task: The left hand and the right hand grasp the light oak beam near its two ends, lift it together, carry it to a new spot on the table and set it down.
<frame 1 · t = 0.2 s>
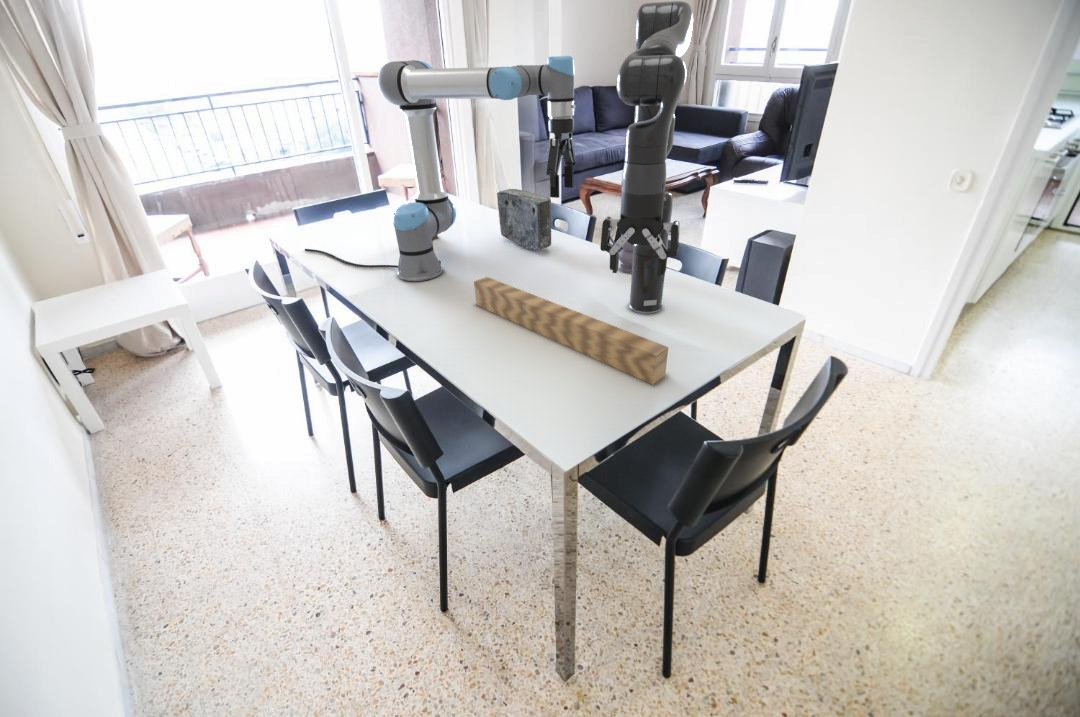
left hand: (562, 192, 156), 28 cm above the table, tool pointing down, fingers open, 13 cm apart
right hand: (636, 273, 96), 28 cm above the table, tool pointing down, fingers open, 8 cm apart
concrete block: (527, 246, 197), on the table
seal figurine: (424, 240, 209), on the table
cat figurine: (630, 269, 173), on the table
beam: (557, 335, 134), on the table
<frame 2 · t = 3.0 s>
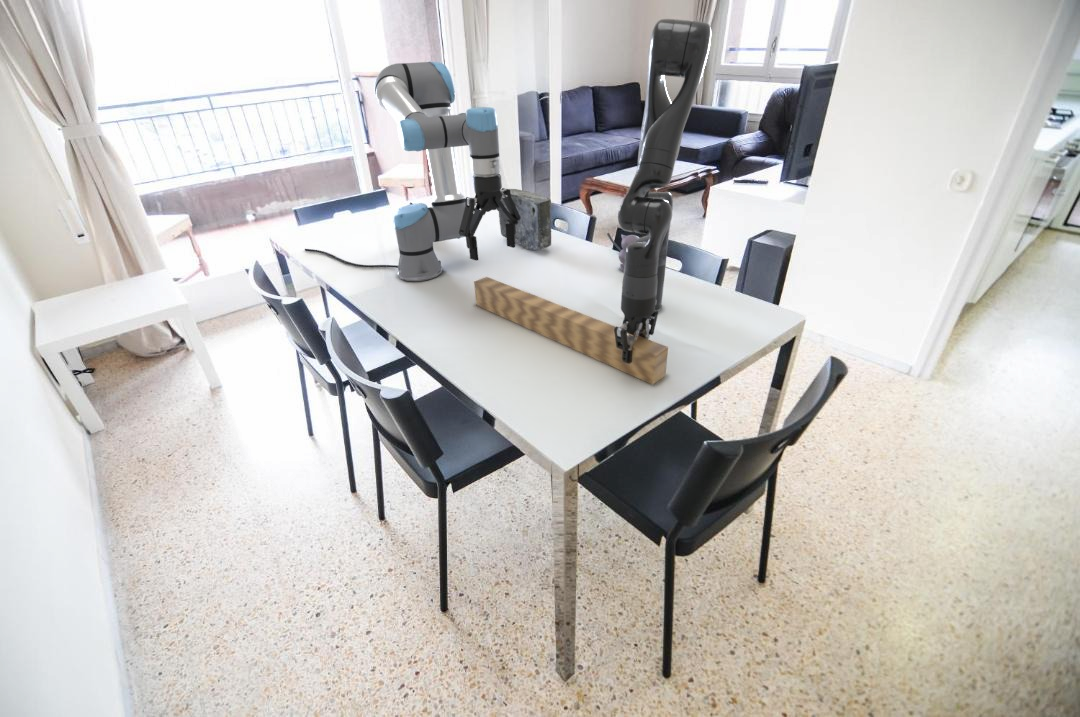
left hand: (493, 252, 140), 18 cm above the table, tool pointing down, fingers open, 13 cm apart
right hand: (634, 357, 117), 3 cm above the table, tool pointing down, fingers closed on beam, 5 cm apart
beam: (558, 335, 134), on the table, touching right hand
everything else where it was.
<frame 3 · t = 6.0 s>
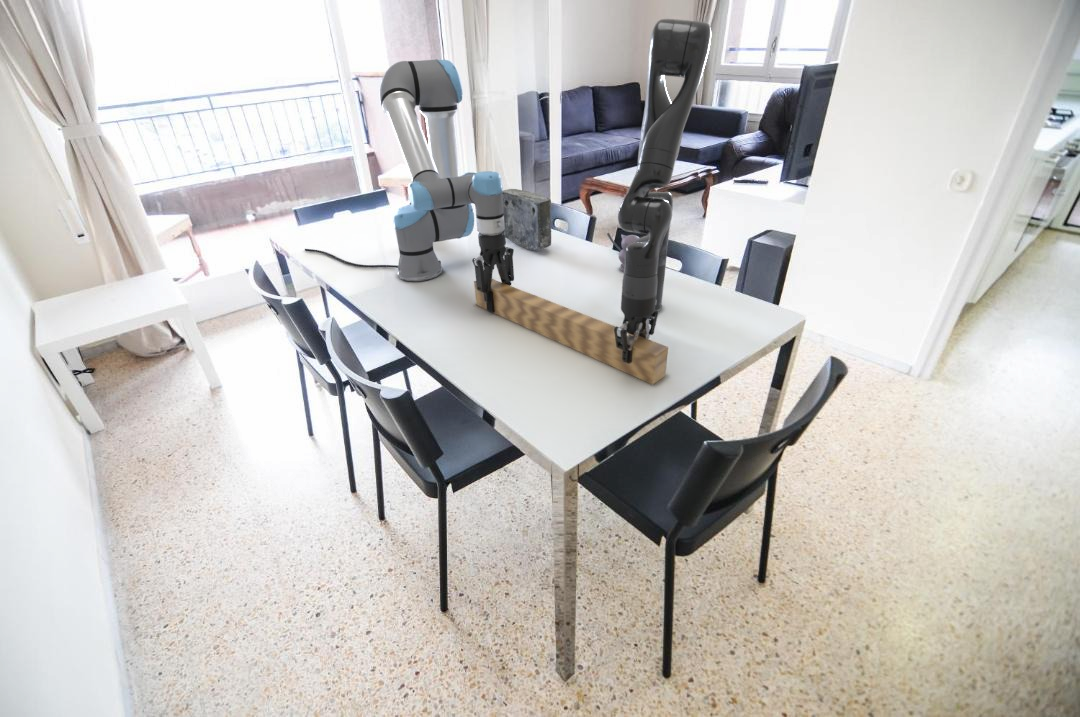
left hand: (498, 307, 149), 1 cm above the table, tool pointing down, fingers closed on beam, 5 cm apart
right hand: (634, 357, 117), 3 cm above the table, tool pointing down, fingers closed on beam, 5 cm apart
beam: (558, 335, 134), on the table, touching left hand, right hand
everything else where it was.
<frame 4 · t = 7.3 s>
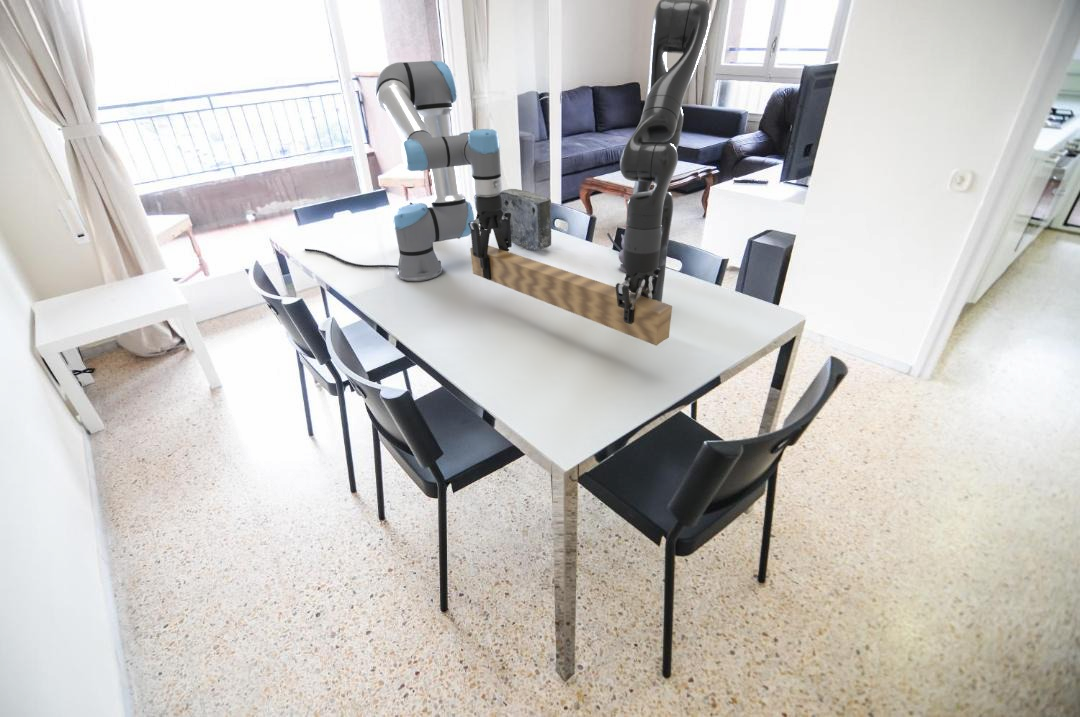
left hand: (494, 275, 144), 11 cm above the table, tool pointing down, fingers closed on beam, 5 cm apart
right hand: (636, 318, 112), 14 cm above the table, tool pointing down, fingers closed on beam, 5 cm apart
beam: (557, 301, 129), point 10 cm above the table, touching left hand, right hand
everything else where it was.
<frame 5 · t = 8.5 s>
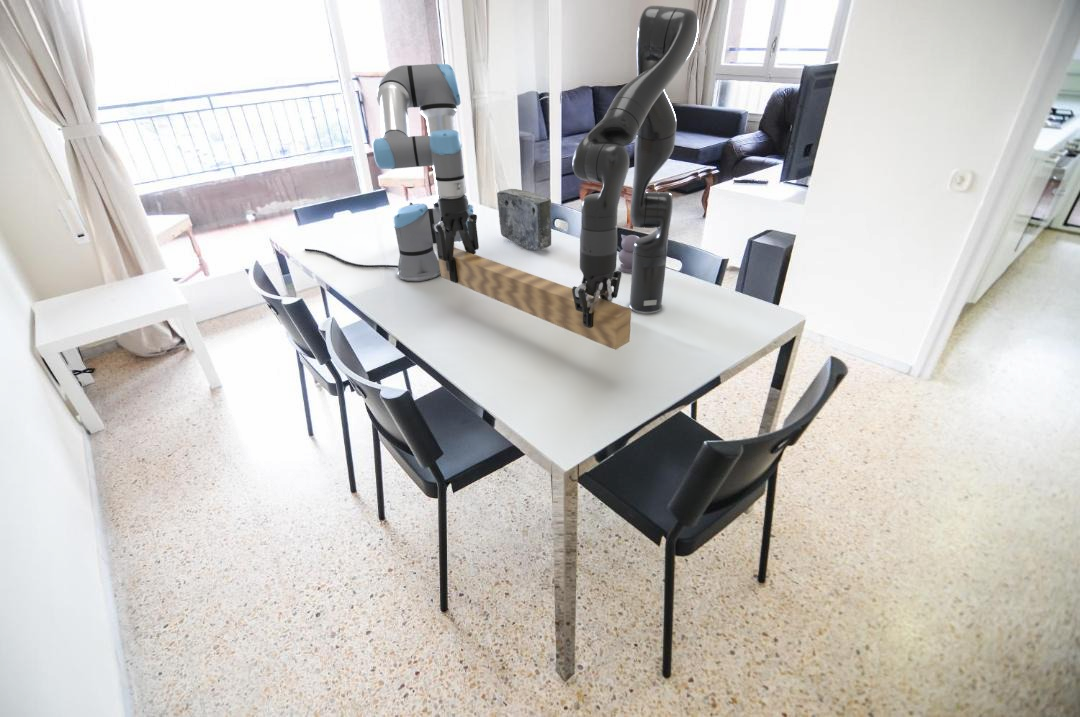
left hand: (462, 278, 142), 11 cm above the table, tool pointing down, fingers closed on beam, 5 cm apart
right hand: (596, 321, 110), 14 cm above the table, tool pointing down, fingers closed on beam, 5 cm apart
beam: (521, 304, 127), point 11 cm above the table, touching left hand, right hand
everything else where it was.
when the left hand's fingers open (2 cm above the table, at t = 11.2 s): beam drops 1 cm, on the table.
when the right hand's fingers open (5 cm above the table, at t = 11.4 s): beam stays where it is, on the table.
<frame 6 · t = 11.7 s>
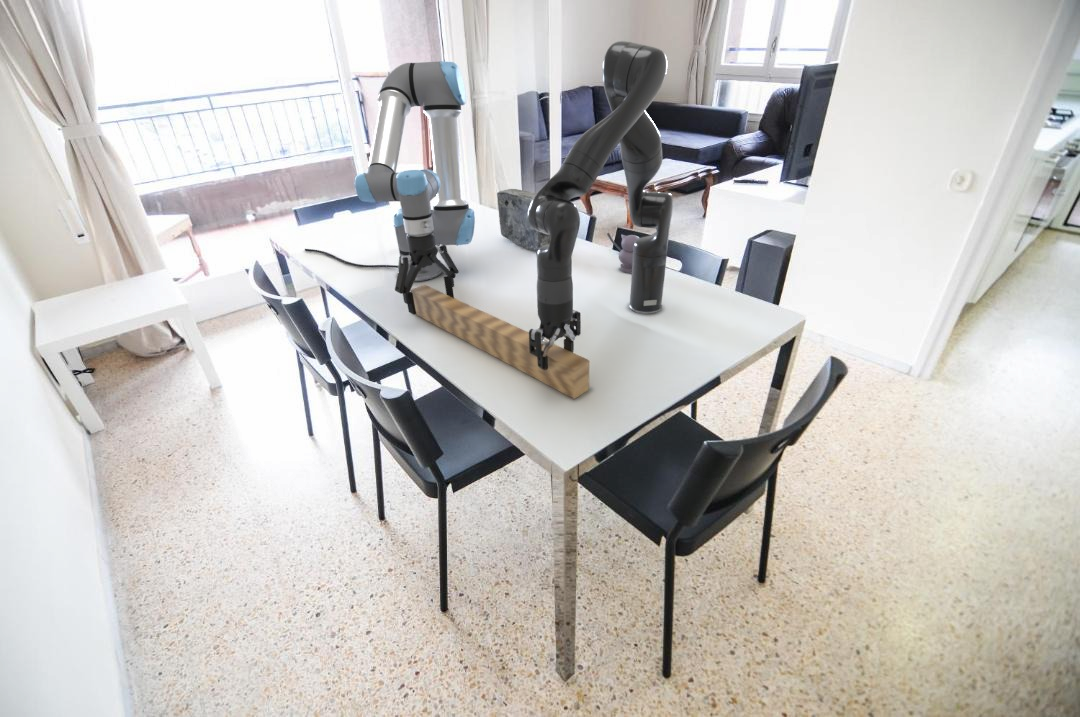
left hand: (432, 305, 144), 4 cm above the table, tool pointing down, fingers open, 12 cm apart
right hand: (556, 361, 112), 6 cm above the table, tool pointing down, fingers open, 8 cm apart
beam: (489, 346, 130), on the table
everything else where it was.
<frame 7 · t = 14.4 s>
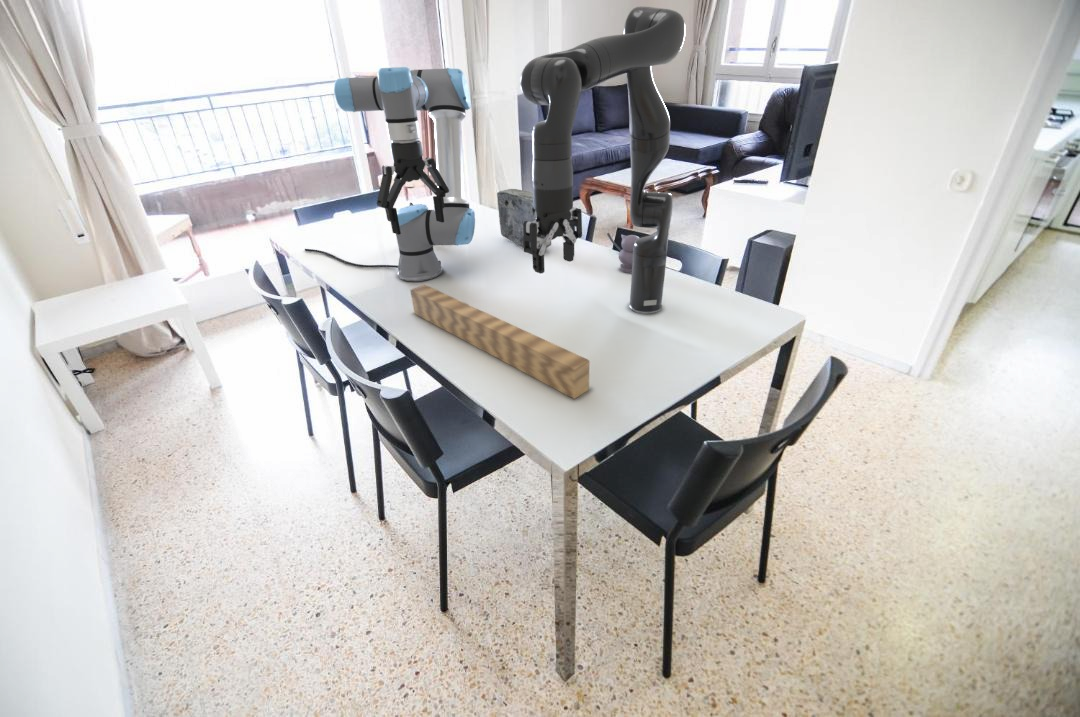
left hand: (419, 227, 132), 27 cm above the table, tool pointing down, fingers open, 13 cm apart
right hand: (554, 266, 100), 28 cm above the table, tool pointing down, fingers open, 8 cm apart
nothing on the table moved.
at the end: beam inside the target area (0.4 cm from its centre), on the table; beam tilted 0°; beam never tilted more than 2° during the clip; both hands held the beam at the same time; the left hand is holding nothing; the right hand is holding nothing; beam at rest at the end (0.0 cm/s) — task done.
